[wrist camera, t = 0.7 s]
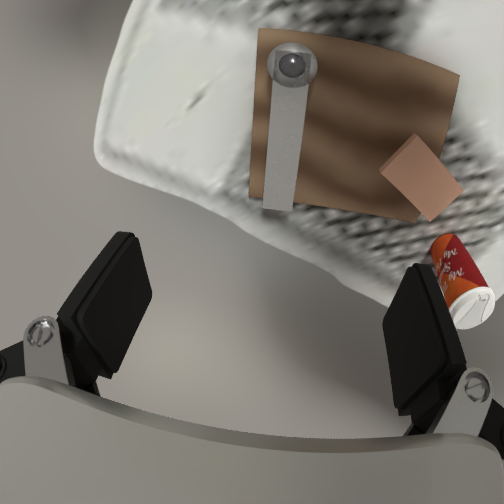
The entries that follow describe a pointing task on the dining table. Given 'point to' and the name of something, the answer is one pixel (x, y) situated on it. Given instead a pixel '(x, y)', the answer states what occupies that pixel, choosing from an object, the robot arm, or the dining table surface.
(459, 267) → the paper cup
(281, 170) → the link
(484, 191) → the dining table surface
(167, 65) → the dining table surface
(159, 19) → the dining table surface
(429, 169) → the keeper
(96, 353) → the robot arm
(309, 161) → the board
